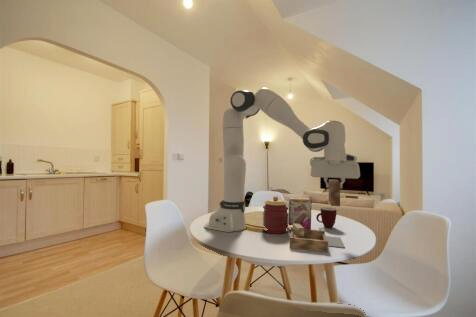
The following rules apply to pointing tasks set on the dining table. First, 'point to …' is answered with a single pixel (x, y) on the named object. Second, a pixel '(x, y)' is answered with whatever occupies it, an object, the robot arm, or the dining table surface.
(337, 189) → the tall brown cardboard box
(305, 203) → the candy bar box
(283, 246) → the dining table surface
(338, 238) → the felt pad
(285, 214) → the canister
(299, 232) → the offcut top
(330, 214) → the mug
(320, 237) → the rack
